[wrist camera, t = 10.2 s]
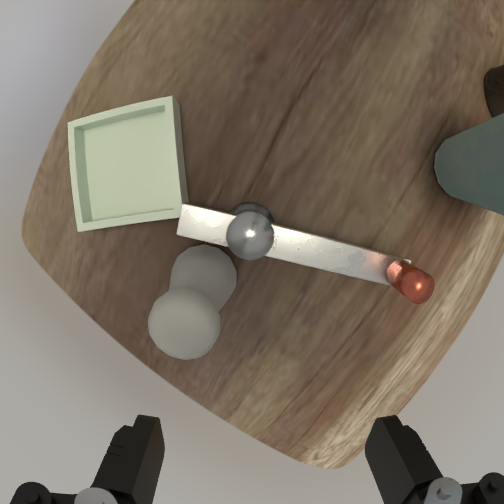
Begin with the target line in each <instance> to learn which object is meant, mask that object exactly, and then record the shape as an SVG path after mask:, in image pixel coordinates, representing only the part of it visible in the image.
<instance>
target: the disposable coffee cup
mask: <svg viewBox="0 0 504 504" xmlns="http://www.w3.org/2000/svg"><path fill="white" fill-rule="evenodd" d="M434 170H435V173H436V177H437V180H438V183H439V184H440V186H441V187H442V188H443V189H444V190H445V192H446V193H448V194H449V196H451V197H454V198H457V199H460V200H463V201H466V202H469V203H472V204H475V205H477V206H480V207H483V208H486V209H488V210H491V211H493V212H496V213H499V214H501V215H504V113H503V114H500V115H498V116H496V117H494V118H492V119H489V120H487V121H485V122H483V123H481V124H478V125H476V126H474V127H472V128H470V129H467V130H465V131H463V132H461V133H459V134H457V135H454V136H452V137H450V138H448V139H446V140H444V142H443V143H442V144H441V146H440V147H439V149H438V150H437V152H436V153H435V163H434Z"/></svg>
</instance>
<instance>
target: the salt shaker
mask: <svg viewBox="0 0 504 504" xmlns="http://www.w3.org/2000/svg"><path fill="white" fill-rule="evenodd" d="M236 275H237V272H236V269H235V267H234V265H233V263H232V261H231V258H230V257H229V256H228V255H227V254H225V253H224V252H223V251H222V250H221V249H219V248H217V247H213V246H209V245H205V244H204V245H199V246H194V247H189V248H188V249H187V250H185V251H184V252H183V253H181V254H180V255H179V256H177V259H176V261H175V263H174V265H173V268H172V271H171V279H170V286H169V291H167V292H166V293H165V294H163V295H162V296H161V297H159V298H158V299H157V300H156V301H155V302H154V305H153V307H152V310H151V312H150V314H149V318H148V326H149V334H150V336H151V338H152V339H153V341H154V343H155V344H156V346H157V347H158V348H160V349H161V350H162V351H163V352H165V353H166V354H167V355H169V356H172V357H175V358H179V359H183V360H186V359H195V358H199V357H201V356H203V355H204V354H206V353H207V352H209V351H210V350H211V348H212V347H213V345H214V343H215V342H216V340H217V338H218V336H219V335H220V314H219V311H220V310H221V309H222V307H223V306H224V305H225V303H226V302H227V301H228V300H229V298H230V297H231V295H232V293H233V291H234V289H235V288H236Z"/></svg>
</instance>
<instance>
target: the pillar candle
mask: <svg viewBox="0 0 504 504" xmlns="http://www.w3.org/2000/svg"><path fill="white" fill-rule="evenodd" d="M484 89H485V96H486V100H487V103H488V107H489V109H490V112H491V114H492V116H493V118H494V117H496V116H498V115H500V114H503V113H504V65H502V66H499V67H497V68H492V69H490V70H489V71H488V72H487V74H486V77H485V82H484Z"/></svg>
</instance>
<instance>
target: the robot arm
mask: <svg viewBox="0 0 504 504" xmlns="http://www.w3.org/2000/svg"><path fill="white" fill-rule="evenodd" d="M164 451H165V446H164V439H163V434H162V429H161V424H160V419H159V418H158V417H151V416H145V415H138V416H137V418H136V420H135V423H134V425H133V427H131V426H126V425H124V426H123V427H122V428H120V430H118V431H117V432H116V433H115V434H114V436H113V438H112V441H111V443H110V446H109V447H108V450H107V453H106V454H105V456H104V459H103V461H102V463H101V465H100V468H99V470H98V472H97V475H96V477H95V479H94V482H93V484H92V485H91V487H90V488H87V489H84V490H82V491H81V492H79V493H78V494H73V495H72V494H58V493H50V492H49V491H48V489H47V488H46V487H45V486H43V485H42V484H40V483H36V482H27V483H24V484H22V485H21V486H19V487H18V488H17V490H16V492H15V494H14V496H13V498H12V500H11V502H10V504H152V502H153V498H154V494H155V490H156V486H157V482H158V478H159V474H160V470H161V466H162V462H163V458H164ZM365 455H366V458H367V461H368V463H369V466H370V468H371V471H372V473H373V476H374V478H375V481H376V484H377V486H378V489H379V491H380V494H381V496H382V499H383V502H384V504H504V476H503V475H501V474H499V473H494V472H493V473H488V474H486V475H485V476H483V478H482V479H481V480H480V481H479V482H478V483H470V484H459V483H458V482H457V481H455V480H454V479H452V478H447V477H443V475H442V474H441V472H440V471H439V469H438V467H437V466H436V464H435V462H434V460H433V459H432V457H431V455H430V454H429V452H428V451H427V450H426V447H425V445H424V444H423V443H422V440H421V439H420V437H419V435H418V434H417V433H416V431H414V430H413V429H412V428H410V427H409V426H408V425H405V426H403V425H402V423H401V421H400V420H399V418H398V417H397V416H396V415H392V416H386V417H380V418H377V419H376V420H375V422H374V424H373V427H372V429H371V432H370V434H369V437H368V439H367V441H366V444H365Z"/></svg>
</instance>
